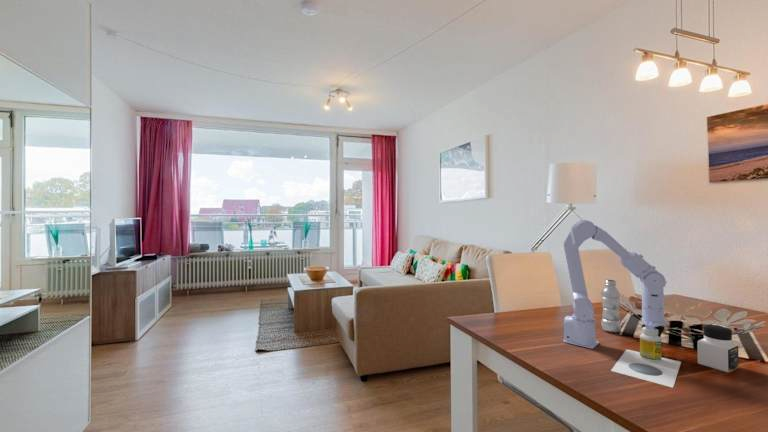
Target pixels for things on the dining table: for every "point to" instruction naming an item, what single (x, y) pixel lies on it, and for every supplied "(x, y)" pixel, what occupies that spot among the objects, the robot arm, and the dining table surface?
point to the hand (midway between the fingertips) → (653, 347)
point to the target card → (648, 368)
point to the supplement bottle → (650, 345)
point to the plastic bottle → (610, 307)
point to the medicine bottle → (718, 348)
